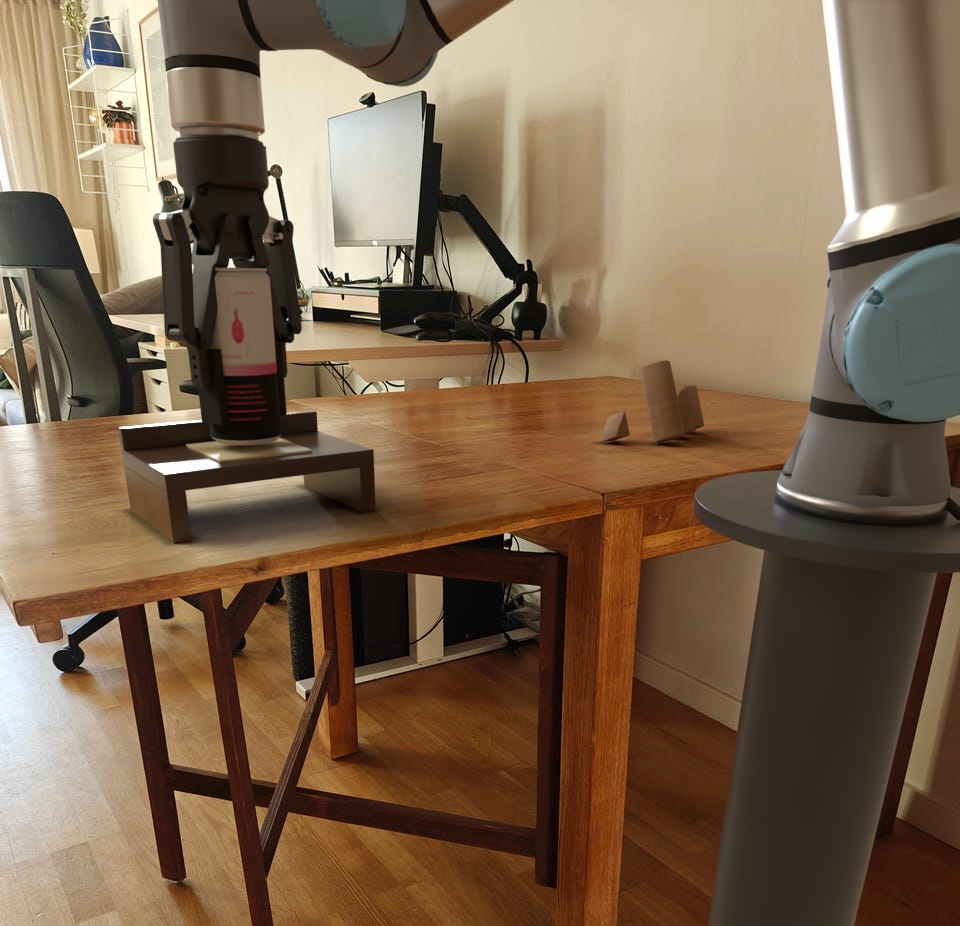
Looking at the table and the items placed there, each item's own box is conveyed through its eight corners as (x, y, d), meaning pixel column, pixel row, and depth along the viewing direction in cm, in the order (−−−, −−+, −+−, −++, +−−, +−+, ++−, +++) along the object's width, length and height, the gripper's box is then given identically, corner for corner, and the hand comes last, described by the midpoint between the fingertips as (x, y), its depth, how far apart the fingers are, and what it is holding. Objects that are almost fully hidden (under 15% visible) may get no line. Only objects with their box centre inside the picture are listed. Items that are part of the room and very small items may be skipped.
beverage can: (288, 433, 85) (276, 268, 79) (274, 446, 79) (259, 268, 73) (221, 432, 85) (204, 267, 79) (202, 445, 79) (182, 267, 73)
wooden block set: (681, 445, 131) (667, 378, 130) (729, 429, 124) (715, 358, 123) (602, 454, 120) (586, 381, 119) (650, 438, 113) (634, 360, 112)
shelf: (376, 510, 85) (373, 428, 82) (173, 543, 74) (161, 450, 71) (317, 484, 95) (312, 410, 92) (130, 510, 84) (117, 427, 81)
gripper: (274, 152, 81) (292, 403, 90) (86, 125, 66) (131, 428, 76) (333, 147, 77) (345, 410, 87) (148, 117, 63) (187, 437, 72)
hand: (245, 418), depth 81 cm, fingers closed on beverage can, 6 cm apart
